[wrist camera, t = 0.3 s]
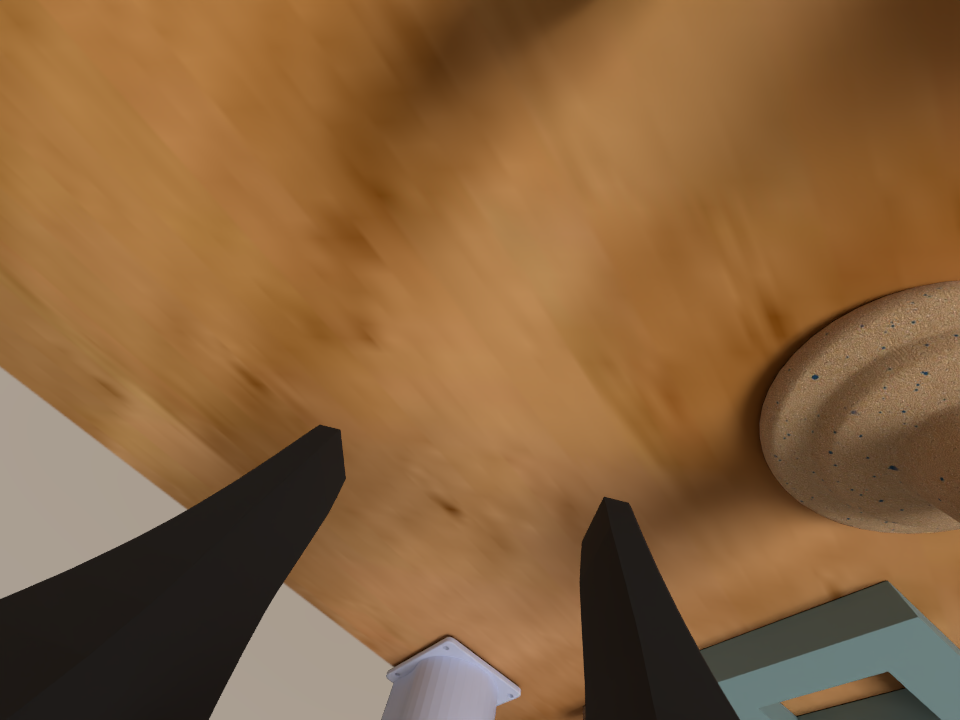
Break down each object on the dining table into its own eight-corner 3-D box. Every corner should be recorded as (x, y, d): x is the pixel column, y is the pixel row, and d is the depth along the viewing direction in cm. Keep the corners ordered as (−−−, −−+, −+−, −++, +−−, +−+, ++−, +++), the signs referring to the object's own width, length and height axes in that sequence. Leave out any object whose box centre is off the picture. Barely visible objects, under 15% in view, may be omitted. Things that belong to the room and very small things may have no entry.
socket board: (781, 751, 28) (796, 788, 26) (671, 661, 27) (679, 694, 25) (1011, 699, 22) (1050, 743, 21) (887, 580, 21) (918, 616, 19)
